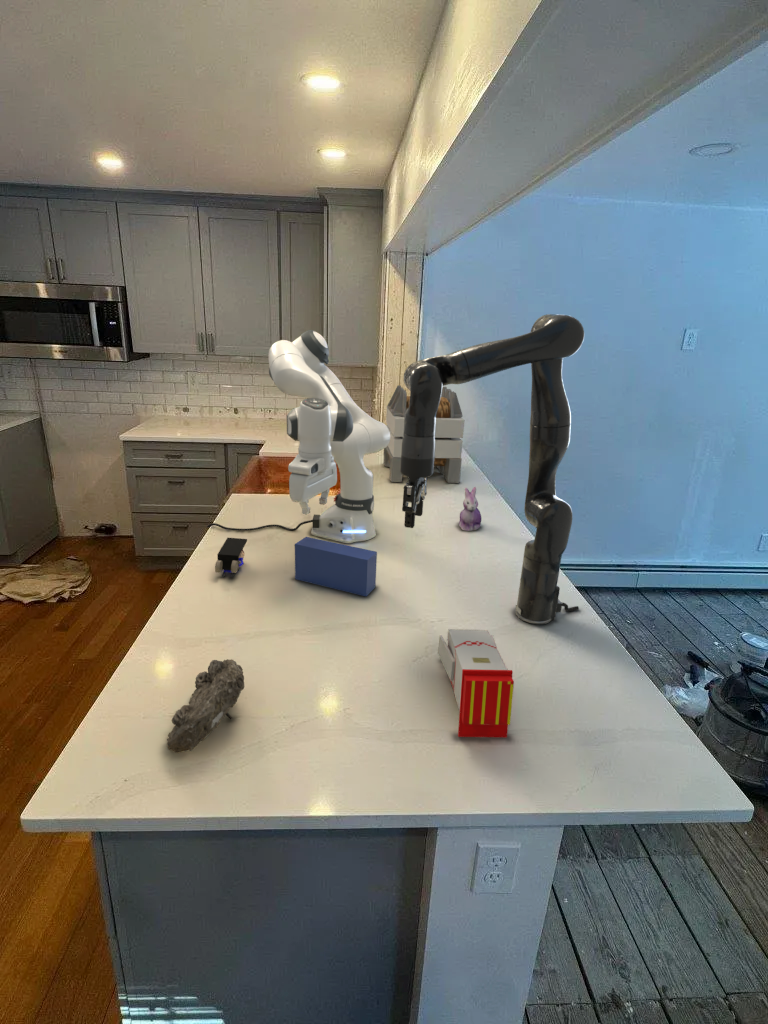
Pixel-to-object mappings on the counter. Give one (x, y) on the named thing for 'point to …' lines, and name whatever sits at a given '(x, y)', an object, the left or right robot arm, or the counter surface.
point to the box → (335, 565)
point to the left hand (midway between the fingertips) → (314, 508)
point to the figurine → (470, 512)
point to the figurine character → (230, 556)
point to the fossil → (206, 705)
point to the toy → (478, 682)
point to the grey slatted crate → (445, 434)
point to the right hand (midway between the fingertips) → (413, 521)
